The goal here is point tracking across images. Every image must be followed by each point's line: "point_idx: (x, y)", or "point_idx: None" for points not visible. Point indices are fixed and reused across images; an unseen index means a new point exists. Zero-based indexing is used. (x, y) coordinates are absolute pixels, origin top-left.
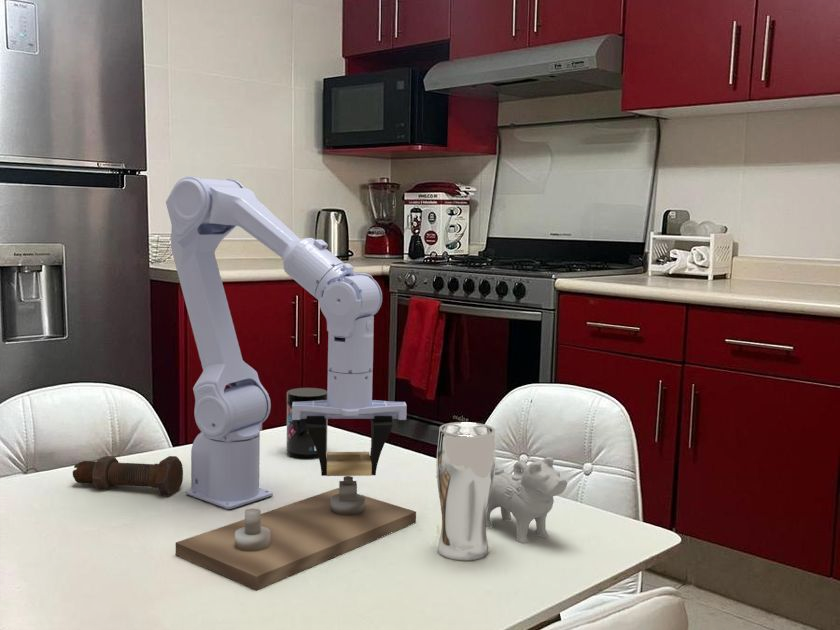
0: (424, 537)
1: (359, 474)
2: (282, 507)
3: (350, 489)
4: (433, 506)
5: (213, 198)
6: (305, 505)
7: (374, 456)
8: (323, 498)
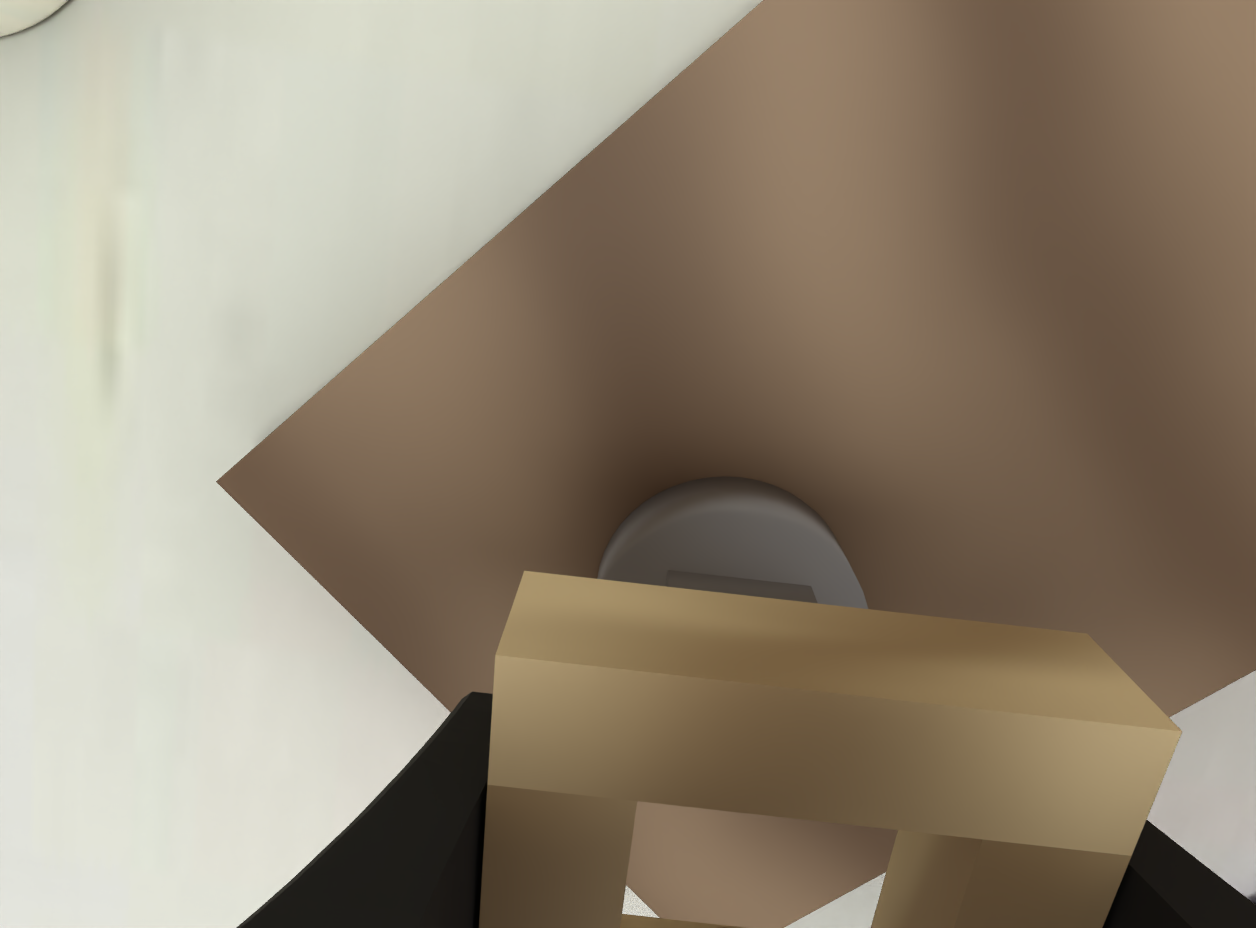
0: (213, 168)
1: (676, 598)
2: (1176, 699)
3: None
4: (126, 709)
5: None
6: None
7: (419, 837)
8: None
